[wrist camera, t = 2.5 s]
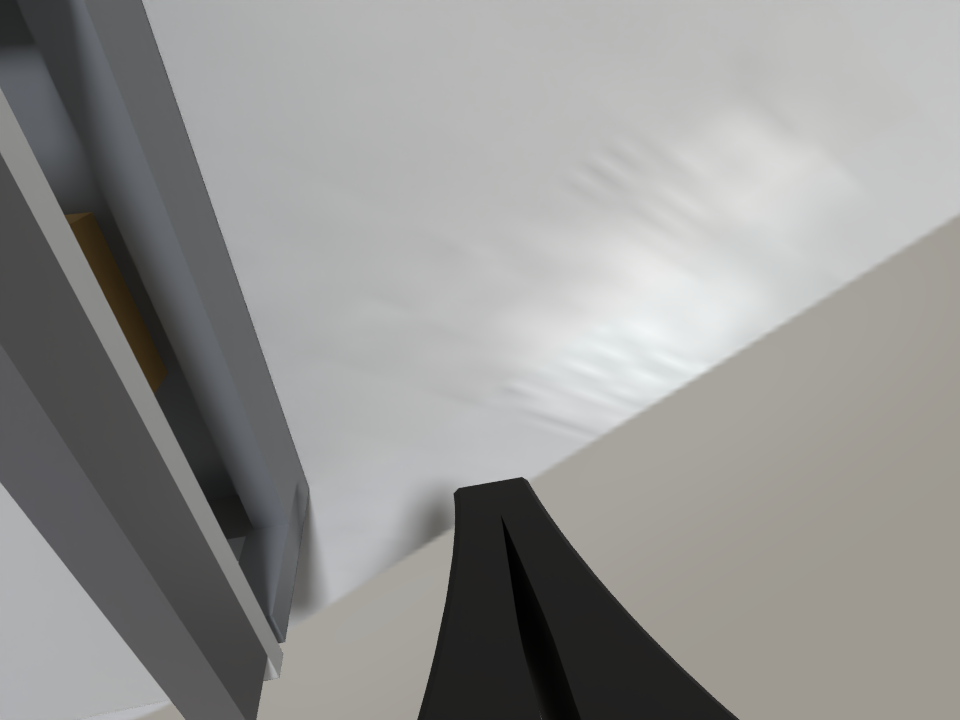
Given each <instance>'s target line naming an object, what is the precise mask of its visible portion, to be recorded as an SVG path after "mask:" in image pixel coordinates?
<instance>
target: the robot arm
mask: <svg viewBox="0 0 960 720" xmlns="http://www.w3.org/2000/svg"><path fill="white" fill-rule="evenodd" d="M454 501H455V535H454V546H453V557H452V564H451V570H450V577H449V584H448V591H447V597H446V603H445V608H444V613H443V617H442V622H441V627H440V632H439V636H438V641H437V646H436V650H435V655H434V659H433V663H432V667H431V672H430V675H429V679H428V683H427V687H426V691H425V694H424V698H423V702H422V705H421V709H420V712H419V716H418V719H417V720H739V719H738V718H737V717H736V716H734V715H733V714H732V713H731V712H730V711H729V710H727V709H726V708H725V707H724V706H723V705H722V704H721V703H719V702H718V701H717V700H716V699H715V698H714V697H712V695H711V694H710V693H709V692H707V691H706V690H705V689H704V688H703V687H702V686H701V685H700V684H699V683H698V682H697V681H696V680H695V679H694V678H693V677H691V676H690V675H689V674H688V673H687V672H686V671H685V670H684V669H683V668H682V667H681V666H680V665H679V664H678V663H677V662H676V661H675V660H674V659H673V658H672V657H671V656H670V655H669V654H668V653H667V652H666V651H665V650H664V649H663V648H662V647H661V646H660V645H659V644H658V643H657V642H656V641H655V640H654V639H653V638H652V637H651V636H650V635H649V634H648V633H647V632H646V631H645V630H644V629H643V628H642V627H641V626H640V625H639V623H638V622H637V621H635V619H634V618H633V617H632V616H631V615H630V614H629V613H628V612H627V611H626V610H625V608H624V607H623V606H622V605H621V604H620V603H619V602H618V601H617V599H616V598H615V597H614V596H613V595H612V594H611V593H610V591H608V589H607V588H606V587H605V586H604V584H603V583H602V582H601V581H600V580H599V579H598V577H597V576H596V575H595V574H594V573H593V571H592V570H591V569H590V568H589V566H588V565H587V564H586V563H585V561H584V560H583V559H582V558H581V556H580V555H579V554H578V553H577V551H576V550H575V549H574V548H573V547H572V545H571V544H570V543H569V541H568V540H567V539H566V537H565V536H564V535H563V533H562V532H561V531H560V529H559V528H558V526H557V525H556V524H555V522H554V521H553V519H552V518H551V517H550V515H549V514H548V512H547V511H546V509H545V508H544V506H543V505H542V503H541V502H540V500H539V499H538V497H537V496H536V494H535V492H534V491H533V489H532V487H531V486H530V484H529V482H528V481H527V480H526V479H524V478H523V477H520V478H514V479H509V480H503V481H497V482H491V483H485V484H480V485H474V486H468V487H462V488H459V489H458V490H457V491H456V492H455V493H454ZM539 711H540V712H539ZM540 715H541V716H540ZM541 718H542V719H541Z"/></svg>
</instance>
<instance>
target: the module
mask: <svg viewBox="0 0 960 720" xmlns="http://www.w3.org/2000/svg"><path fill="white" fill-rule="evenodd" d="M64 216H65V218H66V220H67V222H68V224H69V226H70V228H71V230H72V232H73V234H74V236H75V238H76V240H77V242H78V244H79V246H80V248H81V250H82V252H83V254H84V256H85V258H86V260H87V262H88V264H89V266H90V268H91V270H92V272H93V274H94V276H95V278H96V280H97V282H98V284H99V286H100V288H101V290H102V292H103V294H104V296H105V298H106V300H107V302H108V304H109V306H110V308H111V310H112V312H113V314H114V316H115V318H116V320H117V322H118V324H119V326H120V328H121V330H122V332H123V334H124V336H125V338H126V340H127V342H128V344H129V346H130V348H131V350H132V352H133V354H134V356H135V358H136V360H137V362H138V364H139V366H140V368H141V370H142V372H143V374H144V376H145V378H146V380H147V382H148V384H149V386H150V388H151V390H152V392H153V394H154V393H155V392H156V390H157V389H158V387H159V386H160V384H161V383H162V381H163V379H164V378H165V376H166V375H167V371H166V368H165V366H164V364H163V362H162V360H161V358H160V356H159V354H158V351H157V349H156V347H155V345H154V343H153V341H152V339H151V336H150V334H149V332H148V330H147V328H146V326H145V324H144V322H143V319H142V317H141V315H140V313H139V311H138V309H137V307H136V304H135V302H134V300H133V298H132V296H131V294H130V292H129V290H128V287H127V285H126V283H125V281H124V279H123V277H122V275H121V273H120V270H119V268H118V266H117V264H116V262H115V260H114V258H113V255H112V253H111V251H110V249H109V247H108V245H107V243H106V241H105V238H104V236H103V234H102V232H101V230H100V228H99V226H98V224H97V221H96V219H95V217H94V215H93V213H92V212H87V213H78V214H69V215H64Z"/></svg>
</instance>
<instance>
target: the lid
mask: <svg viewBox="0 0 960 720" xmlns="http://www.w3.org/2000/svg"><path fill="white" fill-rule="evenodd" d="M282 658H283V652H282V650H281V648H280V646H279V644H278V642H277V640H276V638H275V636H274V634H273V632H272V630H271V628H270V626H269V624H268V622H267V620H266V618H265V616H264V614H263V612H262V610H261V608H260V606H259V604H258V602H257V600H256V598H255V596H254V594H253V592H252V590H251V588H250V586H249V584H248V582H247V580H246V578H245V576H244V574H243V572H242V570H241V568H240V566H239V564H238V562H237V560H236V558H235V556H234V554H233V552H232V550H231V548H230V546H229V544H228V542H227V540H226V538H225V536H224V534H223V532H222V530H221V528H220V526H219V524H218V522H217V520H216V518H215V516H214V514H213V512H212V510H211V508H210V506H209V504H208V502H207V500H206V498H205V496H204V494H203V492H202V490H201V488H200V486H199V484H198V482H197V480H196V478H195V476H194V474H193V472H192V470H191V468H190V466H189V464H188V462H187V460H186V458H185V456H184V454H183V452H182V450H181V448H180V446H179V444H178V442H177V440H176V438H175V436H174V434H173V432H172V430H171V428H170V426H169V424H168V422H167V420H166V418H165V416H164V414H163V412H162V410H161V408H160V406H159V404H158V402H157V400H156V398H155V396H154V394H153V392H152V390H151V388H150V386H149V384H148V382H147V380H146V378H145V376H144V374H143V372H142V370H141V368H140V366H139V364H138V362H137V360H136V358H135V356H134V354H133V352H132V350H131V348H130V346H129V344H128V342H127V340H126V338H125V336H124V334H123V332H122V330H121V328H120V326H119V324H118V322H117V320H116V318H115V316H114V314H113V312H112V310H111V308H110V306H109V304H108V302H107V300H106V298H105V296H104V294H103V292H102V290H101V288H100V286H99V284H98V282H97V280H96V278H95V276H94V274H93V272H92V270H91V268H90V266H89V264H88V262H87V260H86V258H85V256H84V254H83V252H82V250H81V248H80V246H79V244H78V242H77V240H76V238H75V236H74V234H73V232H72V230H71V228H70V226H69V224H68V222H67V220H66V218H65V216H64V214H63V212H62V210H61V208H60V206H59V204H58V202H57V200H56V198H55V196H54V194H53V192H52V190H51V188H50V186H49V184H48V182H47V180H46V178H45V176H44V174H43V172H42V170H41V168H40V166H39V164H38V162H37V160H36V158H35V156H34V154H33V152H32V150H31V148H30V146H29V144H28V142H27V140H26V138H25V136H24V134H23V132H22V130H21V128H20V126H19V124H18V122H17V120H16V118H15V116H14V114H13V112H12V110H11V108H10V106H9V104H8V102H7V100H6V98H5V96H4V94H3V92H2V90H1V88H0V720H77V719H82V718H87V717H92V716H97V715H102V714H107V713H111V712H116V711H121V710H126V709H131V708H136V707H141V706H145V705H150V704H155V703H160V702H165V701H170V700H171V701H172V703H173V704H174V705H175V706H176V708H177V709H178V710H179V711H180V713H181V714H182V715H183V717H184V718H185V719H186V720H256V718H257V712H258V706H259V701H260V696H261V690H262V684H263V681H267V680H271V679H277V678H279V677H280V671H281V665H282Z"/></svg>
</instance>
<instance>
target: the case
mask: <svg viewBox="0 0 960 720" xmlns="http://www.w3.org/2000/svg"><path fill="white" fill-rule="evenodd" d="M0 88H1V90H2V92H3V94H4V96H5V98H6V100H7V102H8V104H9V106H10V108H11V110H12V112H13V114H14V116H15V118H16V120H17V122H18V124H19V126H20V128H21V130H22V132H23V134H24V136H25V138H26V140H27V142H28V144H29V146H30V148H31V150H32V152H33V154H34V156H35V158H36V160H37V162H38V164H39V166H40V168H41V170H42V172H43V174H44V176H45V178H46V180H47V182H48V184H49V186H50V188H51V190H52V192H53V194H54V196H55V198H56V200H57V202H58V204H59V206H60V208H61V210H62V212H63V214H64V215H69V214H78V213H87V212H92V213H93V215H94V217H95V219H96V221H97V224H98V226H99V228H100V230H101V232H102V234H103V236H104V238H105V241H106V243H107V245H108V247H109V249H110V251H111V253H112V255H113V258H114V260H115V262H116V264H117V266H118V268H119V270H120V273H121V275H122V277H123V279H124V281H125V283H126V285H127V287H128V290H129V292H130V294H131V296H132V298H133V300H134V302H135V304H136V307H137V309H138V311H139V313H140V315H141V317H142V319H143V322H144V324H145V326H146V328H147V330H148V332H149V334H150V336H151V339H152V341H153V343H154V345H155V347H156V349H157V351H158V354H159V356H160V358H161V360H162V362H163V364H164V366H165V368H166V371H167V375H166V376H165V378H164V379H163V381H162V383H161V384H160V386H159V387H158V389H157V390H156V392H155V393H154V396H155V398H156V400H157V402H158V404H159V406H160V408H161V410H162V412H163V414H164V416H165V418H166V420H167V422H168V424H169V426H170V428H171V430H172V432H173V434H174V436H175V438H176V440H177V442H178V444H179V446H180V448H181V450H182V452H183V454H184V456H185V458H186V460H187V462H188V464H189V466H190V468H191V470H192V472H193V474H194V476H195V478H196V480H197V482H198V484H199V486H200V488H201V490H202V492H203V494H204V496H205V498H206V500H207V502H208V504H209V506H210V508H211V510H212V512H213V514H214V516H215V518H216V520H217V522H218V524H219V526H220V528H221V530H222V532H223V534H224V536H225V538H226V540H227V542H228V544H229V546H230V548H231V550H232V552H233V554H234V556H235V558H236V560H237V561H239V563H238V564H239V566H240V568H241V570H242V572H243V574H244V576H245V578H246V580H247V582H248V584H249V586H250V588H251V590H252V592H253V594H254V596H255V598H256V600H257V602H258V604H259V606H260V608H261V610H262V612H263V614H264V616H265V618H266V620H267V622H268V624H269V626H270V628H271V630H272V632H273V634H274V636H275V638H276V640H277V642H278V643H283V642H285V639H286V633H287V627H288V620H289V614H290V607H291V601H292V595H293V588H294V582H295V576H296V569H297V563H298V556H299V550H300V544H301V537H302V531H303V524H304V518H305V512H306V505H307V499H308V493H309V487H308V484H307V481H306V479H305V476H304V473H303V470H302V467H301V464H300V461H299V458H298V455H297V452H296V449H295V447H294V444H293V441H292V438H291V435H290V432H289V429H288V426H287V423H286V420H285V417H284V415H283V412H282V409H281V406H280V403H279V400H278V397H277V394H276V391H275V388H274V385H273V382H272V380H271V377H270V374H269V371H268V368H267V365H266V362H265V359H264V356H263V353H262V350H261V348H260V345H259V342H258V339H257V336H256V333H255V330H254V327H253V324H252V321H251V318H250V316H249V313H248V310H247V307H246V304H245V301H244V298H243V295H242V292H241V289H240V286H239V284H238V281H237V278H236V275H235V272H234V269H233V266H232V263H231V260H230V257H229V254H228V252H227V249H226V246H225V243H224V240H223V237H222V234H221V231H220V228H219V225H218V222H217V220H216V217H215V214H214V211H213V208H212V205H211V202H210V199H209V196H208V193H207V190H206V188H205V185H204V182H203V179H202V176H201V173H200V170H199V167H198V164H197V161H196V158H195V156H194V153H193V150H192V147H191V144H190V141H189V138H188V135H187V132H186V129H185V126H184V123H183V121H182V118H181V115H180V112H179V109H178V106H177V103H176V100H175V97H174V94H173V91H172V89H171V86H170V83H169V80H168V77H167V74H166V71H165V68H164V65H163V62H162V59H161V57H160V54H159V51H158V48H157V45H156V42H155V39H154V36H153V33H152V30H151V27H150V25H149V22H148V19H147V16H146V13H145V10H144V7H143V4H142V1H141V0H0Z"/></svg>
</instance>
